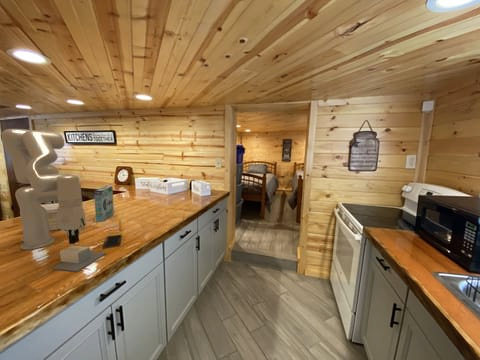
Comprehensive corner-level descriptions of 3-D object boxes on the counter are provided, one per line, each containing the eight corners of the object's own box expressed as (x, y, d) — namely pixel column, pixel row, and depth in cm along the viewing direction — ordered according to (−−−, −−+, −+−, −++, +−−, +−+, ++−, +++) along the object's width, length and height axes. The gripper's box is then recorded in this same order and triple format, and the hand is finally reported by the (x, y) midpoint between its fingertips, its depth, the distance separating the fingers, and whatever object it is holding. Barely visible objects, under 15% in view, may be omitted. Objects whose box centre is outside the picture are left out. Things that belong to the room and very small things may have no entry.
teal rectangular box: (107, 214, 157) (105, 186, 154) (114, 213, 158) (112, 185, 155) (95, 222, 138) (93, 190, 135) (103, 221, 139) (101, 190, 136)
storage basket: (21, 236, 114) (18, 211, 112) (31, 227, 127) (28, 205, 125) (74, 228, 127) (72, 206, 125) (78, 221, 140) (76, 201, 138)
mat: (52, 269, 82) (51, 268, 82) (84, 252, 97) (84, 250, 97) (77, 272, 81) (77, 270, 81) (106, 253, 95) (106, 252, 95)
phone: (102, 247, 100) (106, 236, 113) (102, 249, 100) (106, 238, 113) (120, 244, 104) (122, 234, 117) (120, 246, 104) (122, 236, 117)
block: (59, 251, 86) (79, 252, 85) (70, 245, 91) (89, 247, 90) (61, 261, 87) (80, 263, 86) (71, 255, 92) (90, 257, 91)
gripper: (46, 204, 83) (50, 245, 85) (77, 206, 81) (81, 247, 83) (63, 200, 90) (67, 238, 92) (92, 201, 88) (96, 240, 91)
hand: (74, 242), depth 88 cm, fingers closed
